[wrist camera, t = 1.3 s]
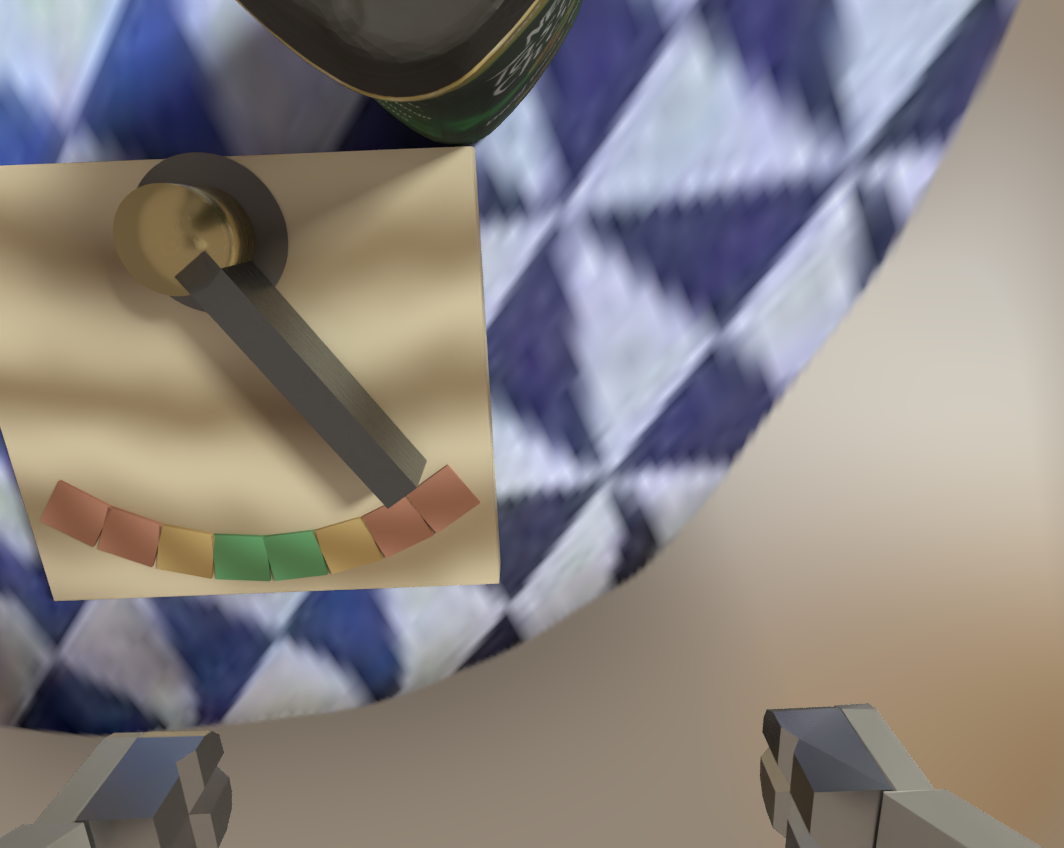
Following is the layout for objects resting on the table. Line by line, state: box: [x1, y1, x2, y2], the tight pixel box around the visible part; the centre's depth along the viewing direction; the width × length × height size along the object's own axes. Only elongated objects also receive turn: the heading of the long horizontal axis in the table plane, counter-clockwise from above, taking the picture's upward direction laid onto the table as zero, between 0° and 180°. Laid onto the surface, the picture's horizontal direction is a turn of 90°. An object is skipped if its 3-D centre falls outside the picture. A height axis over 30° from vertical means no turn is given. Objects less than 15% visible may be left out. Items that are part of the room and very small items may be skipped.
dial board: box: [0, 146, 500, 601], centre depth 31 cm, size 20×22×2 cm
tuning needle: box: [113, 183, 427, 509], centre depth 28 cm, size 15×4×3 cm, turn 37°
